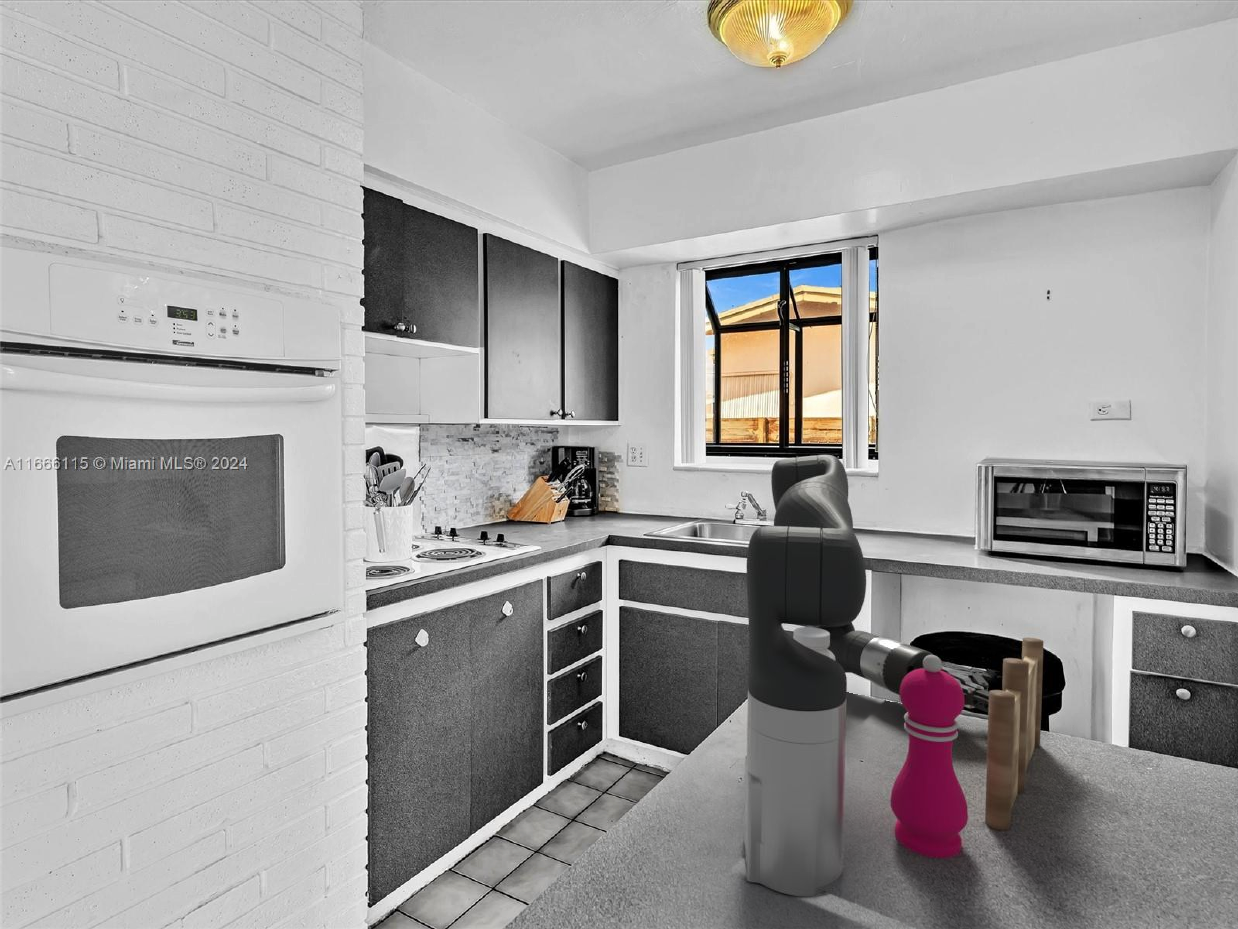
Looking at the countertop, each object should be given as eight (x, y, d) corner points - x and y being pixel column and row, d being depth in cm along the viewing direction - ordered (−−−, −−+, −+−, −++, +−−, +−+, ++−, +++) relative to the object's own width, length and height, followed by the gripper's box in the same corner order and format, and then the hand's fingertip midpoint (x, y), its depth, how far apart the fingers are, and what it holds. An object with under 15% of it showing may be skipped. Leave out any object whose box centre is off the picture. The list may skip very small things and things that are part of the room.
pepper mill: (975, 875, 68) (982, 669, 67) (896, 865, 70) (901, 664, 69) (956, 833, 75) (961, 647, 74) (884, 825, 77) (888, 642, 76)
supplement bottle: (811, 730, 101) (813, 641, 100) (774, 713, 107) (776, 629, 106) (844, 719, 105) (846, 633, 104) (807, 704, 111) (809, 622, 110)
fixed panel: (1001, 781, 85) (1005, 656, 84) (1026, 787, 83) (1030, 661, 82) (982, 825, 75) (986, 685, 74) (1009, 833, 73) (1014, 691, 73)
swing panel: (1025, 785, 83) (1029, 668, 83) (1002, 779, 85) (1006, 664, 84) (1041, 743, 95) (1044, 639, 94) (1020, 738, 96) (1023, 636, 96)
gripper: (866, 648, 105) (969, 687, 89) (931, 638, 110) (1038, 672, 95) (865, 699, 105) (967, 746, 89) (929, 685, 111) (1036, 728, 95)
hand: (1003, 708), depth 92 cm, fingers closed
